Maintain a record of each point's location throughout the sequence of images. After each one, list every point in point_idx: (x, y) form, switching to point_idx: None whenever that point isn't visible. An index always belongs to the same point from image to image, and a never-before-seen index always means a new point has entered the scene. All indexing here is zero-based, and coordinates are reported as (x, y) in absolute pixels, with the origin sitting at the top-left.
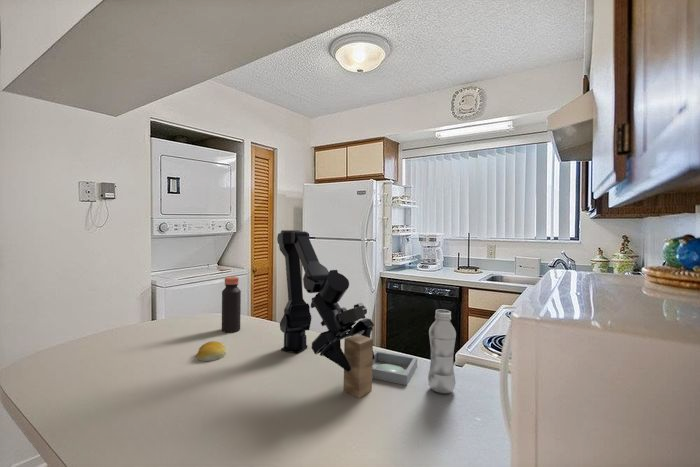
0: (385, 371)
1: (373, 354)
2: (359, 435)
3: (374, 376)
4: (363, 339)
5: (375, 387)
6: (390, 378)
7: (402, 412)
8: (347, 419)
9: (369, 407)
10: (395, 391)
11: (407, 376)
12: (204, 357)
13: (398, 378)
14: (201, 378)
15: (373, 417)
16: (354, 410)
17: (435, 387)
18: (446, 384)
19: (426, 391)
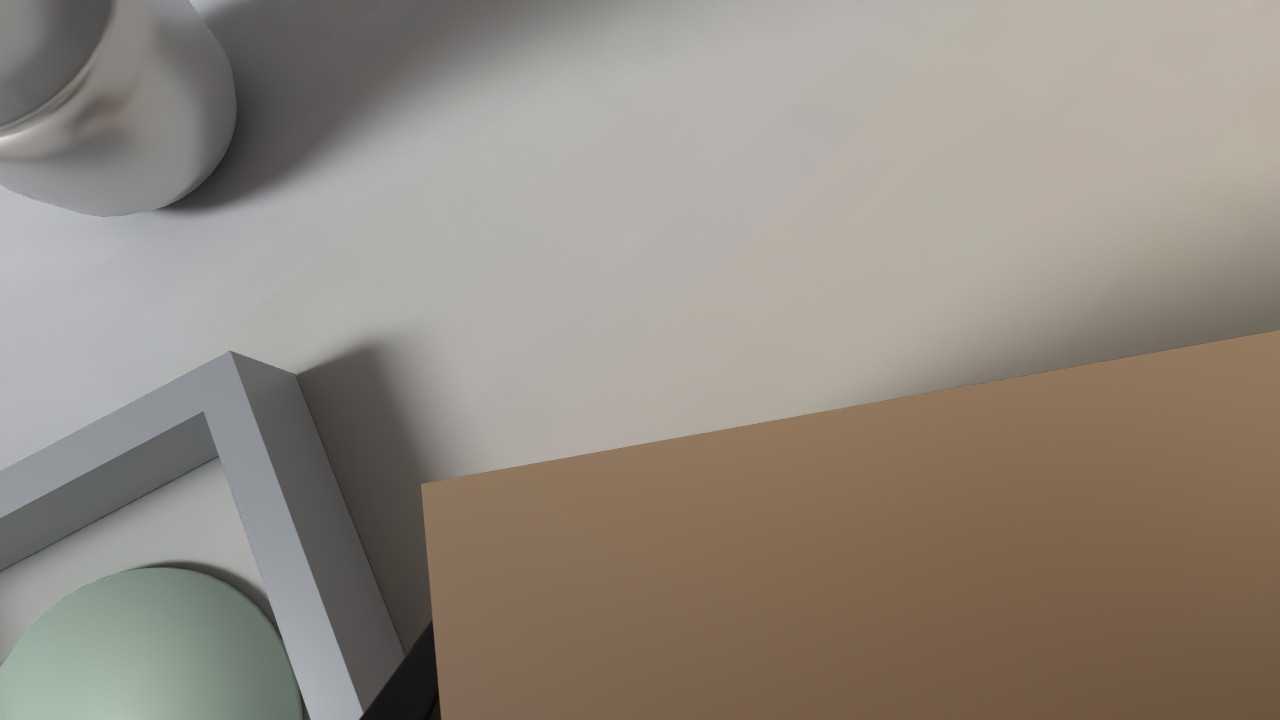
0: (320, 594)
1: (412, 663)
2: (1215, 40)
3: None
4: (883, 685)
5: None
6: (337, 530)
7: (699, 82)
8: (1188, 254)
9: (886, 288)
10: (475, 355)
11: (224, 364)
12: None
13: (294, 446)
14: None
15: (958, 155)
16: (1044, 329)
17: (223, 75)
18: None
19: (266, 194)
